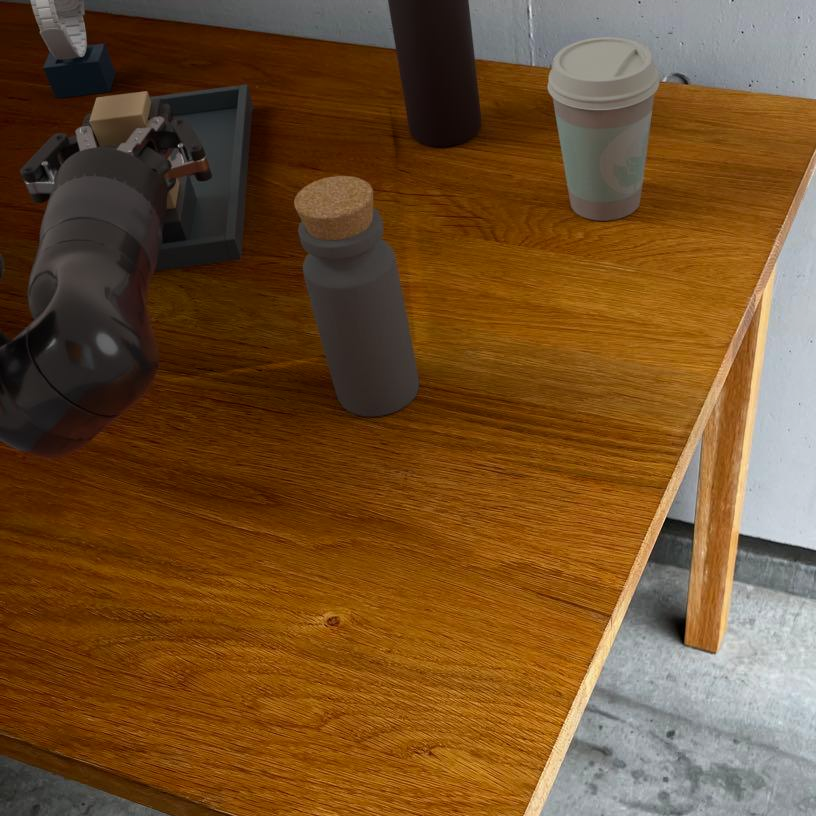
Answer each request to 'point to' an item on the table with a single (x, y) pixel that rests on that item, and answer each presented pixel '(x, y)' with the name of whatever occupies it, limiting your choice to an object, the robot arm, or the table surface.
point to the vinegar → (437, 69)
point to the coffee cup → (604, 122)
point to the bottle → (356, 297)
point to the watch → (71, 50)
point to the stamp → (115, 126)
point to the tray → (214, 175)
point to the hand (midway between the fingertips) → (131, 114)
